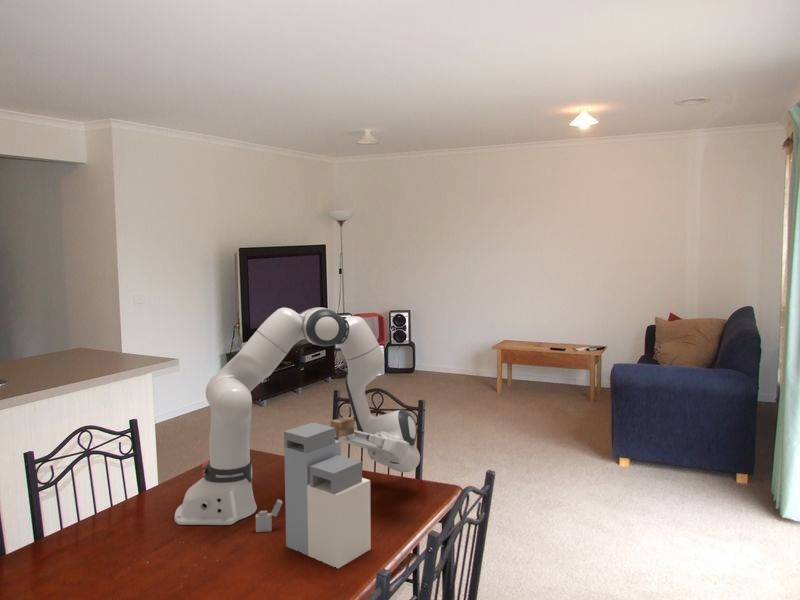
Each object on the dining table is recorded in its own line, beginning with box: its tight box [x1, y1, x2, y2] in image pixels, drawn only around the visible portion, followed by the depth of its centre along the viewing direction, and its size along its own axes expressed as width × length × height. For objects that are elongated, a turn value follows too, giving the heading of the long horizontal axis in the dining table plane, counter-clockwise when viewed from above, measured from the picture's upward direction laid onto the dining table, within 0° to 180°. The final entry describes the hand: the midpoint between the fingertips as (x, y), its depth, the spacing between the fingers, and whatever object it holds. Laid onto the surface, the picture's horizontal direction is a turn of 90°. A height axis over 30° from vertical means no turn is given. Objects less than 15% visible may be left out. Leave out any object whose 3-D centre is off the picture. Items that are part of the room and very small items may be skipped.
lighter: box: [255, 498, 283, 534], centre depth 172 cm, size 7×2×8 cm, turn 105°
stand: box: [283, 422, 372, 569], centre depth 161 cm, size 12×18×30 cm, turn 52°
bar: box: [302, 416, 355, 445], centre depth 167 cm, size 17×3×4 cm, turn 142°
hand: (355, 434), depth 176 cm, fingers open, 8 cm apart
